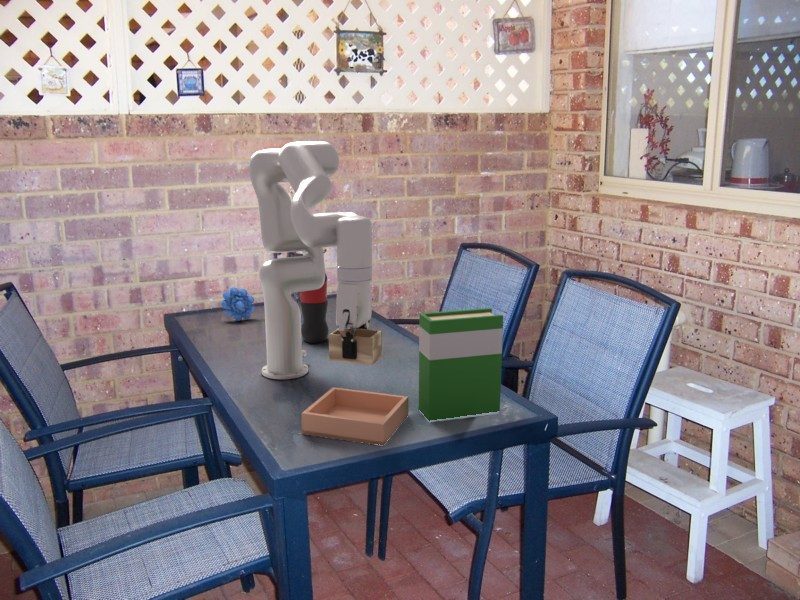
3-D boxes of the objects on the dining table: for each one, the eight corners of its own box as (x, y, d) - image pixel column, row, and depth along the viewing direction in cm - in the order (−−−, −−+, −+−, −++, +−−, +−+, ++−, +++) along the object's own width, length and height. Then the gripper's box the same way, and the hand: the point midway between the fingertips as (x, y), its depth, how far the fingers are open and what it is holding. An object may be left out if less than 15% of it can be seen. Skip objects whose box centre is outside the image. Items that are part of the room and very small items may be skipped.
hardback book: (487, 402, 180) (490, 307, 174) (499, 414, 173) (503, 315, 167) (418, 410, 175) (419, 313, 169) (428, 422, 168) (430, 321, 162)
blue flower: (224, 325, 247) (222, 290, 244) (220, 320, 253) (218, 286, 250) (258, 322, 251) (257, 287, 248) (254, 317, 257) (252, 283, 254)
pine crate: (340, 352, 167) (340, 326, 166) (382, 356, 164) (382, 330, 162) (329, 360, 161) (328, 334, 160) (371, 365, 158) (371, 338, 157)
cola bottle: (329, 336, 235) (327, 243, 227) (327, 344, 226) (325, 248, 219) (302, 336, 234) (300, 243, 227) (300, 344, 226) (297, 248, 219)
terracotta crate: (333, 406, 177) (332, 387, 176) (408, 416, 171) (408, 396, 170) (302, 434, 161) (301, 413, 160) (383, 446, 156) (383, 424, 154)
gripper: (353, 266, 167) (355, 341, 171) (322, 280, 151) (324, 363, 155) (384, 267, 165) (385, 344, 169) (355, 283, 149) (357, 367, 153)
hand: (356, 353), depth 162 cm, fingers closed on pine crate, 6 cm apart
